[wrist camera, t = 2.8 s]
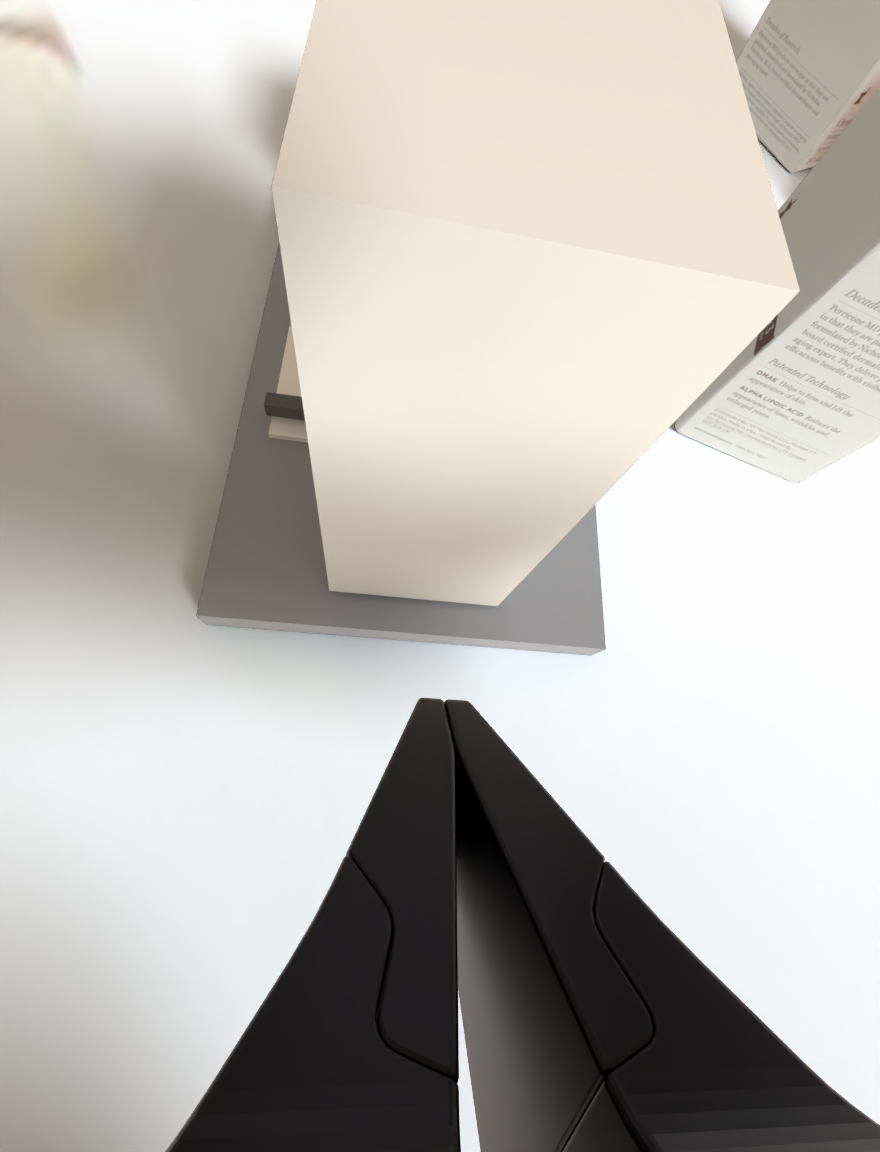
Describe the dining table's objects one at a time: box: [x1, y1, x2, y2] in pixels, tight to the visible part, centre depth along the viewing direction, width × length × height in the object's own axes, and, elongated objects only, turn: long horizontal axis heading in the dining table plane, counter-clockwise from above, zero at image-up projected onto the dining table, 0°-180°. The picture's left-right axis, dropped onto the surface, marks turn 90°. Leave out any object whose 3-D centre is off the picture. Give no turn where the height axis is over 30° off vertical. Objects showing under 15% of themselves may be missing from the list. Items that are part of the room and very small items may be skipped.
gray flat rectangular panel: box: [196, 242, 606, 655], centre depth 19 cm, size 21×12×1 cm, turn 176°
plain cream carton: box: [264, 0, 800, 606], centre depth 11 cm, size 10×8×11 cm
